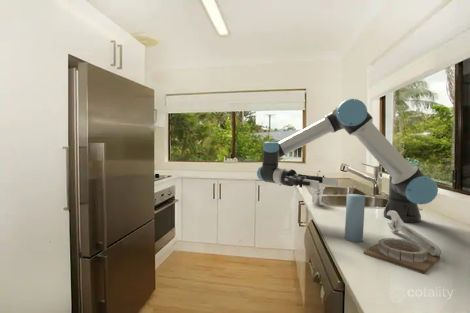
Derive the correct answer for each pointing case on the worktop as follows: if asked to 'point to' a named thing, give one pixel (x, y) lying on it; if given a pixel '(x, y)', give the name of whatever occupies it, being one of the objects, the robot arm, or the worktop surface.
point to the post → (354, 217)
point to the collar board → (403, 263)
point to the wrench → (412, 234)
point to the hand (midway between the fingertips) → (328, 183)
